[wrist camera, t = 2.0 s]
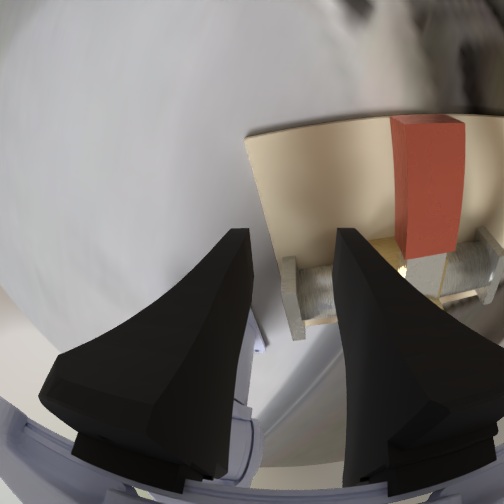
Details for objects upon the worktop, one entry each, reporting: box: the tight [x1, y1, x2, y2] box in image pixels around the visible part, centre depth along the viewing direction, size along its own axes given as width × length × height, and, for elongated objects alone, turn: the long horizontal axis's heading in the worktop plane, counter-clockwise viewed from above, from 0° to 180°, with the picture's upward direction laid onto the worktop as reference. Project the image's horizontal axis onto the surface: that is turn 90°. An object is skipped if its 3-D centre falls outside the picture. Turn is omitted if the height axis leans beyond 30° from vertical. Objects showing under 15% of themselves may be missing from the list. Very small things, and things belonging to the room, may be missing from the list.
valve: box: [281, 226, 504, 341], centre depth 20 cm, size 18×6×4 cm, turn 105°
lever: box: [389, 114, 465, 310], centre depth 14 cm, size 15×4×2 cm, turn 15°
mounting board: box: [244, 114, 504, 326], centre depth 20 cm, size 22×18×1 cm
